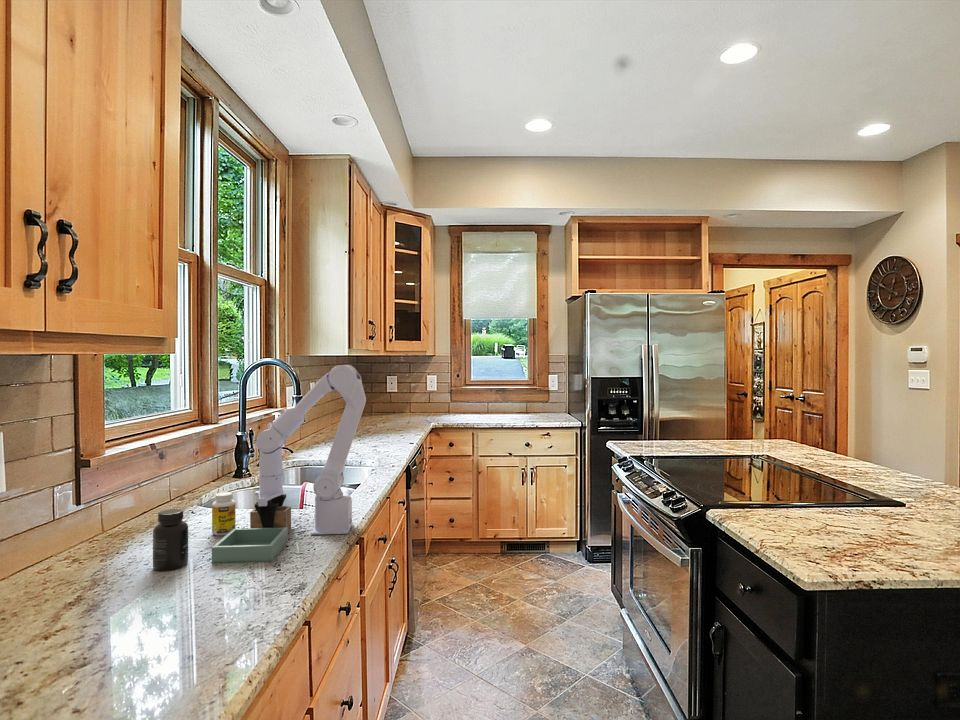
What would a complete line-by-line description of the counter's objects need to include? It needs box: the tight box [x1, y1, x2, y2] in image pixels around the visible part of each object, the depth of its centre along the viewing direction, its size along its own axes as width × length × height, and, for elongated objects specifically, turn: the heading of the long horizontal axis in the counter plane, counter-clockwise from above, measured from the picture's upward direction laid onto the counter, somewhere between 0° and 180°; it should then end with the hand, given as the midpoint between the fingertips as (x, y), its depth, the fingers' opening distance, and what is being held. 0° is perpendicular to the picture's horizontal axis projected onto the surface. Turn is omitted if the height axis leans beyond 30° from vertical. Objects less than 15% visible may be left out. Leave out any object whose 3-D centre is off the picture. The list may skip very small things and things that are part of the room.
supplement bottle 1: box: [152, 508, 189, 572], centre depth 119 cm, size 7×7×12 cm
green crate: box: [211, 527, 289, 565], centre depth 127 cm, size 13×13×4 cm
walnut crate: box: [249, 505, 292, 532], centre depth 142 cm, size 9×5×6 cm, turn 95°
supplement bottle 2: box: [211, 491, 236, 537], centre depth 141 cm, size 6×6×10 cm
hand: (271, 526), depth 142 cm, fingers closed on walnut crate, 5 cm apart
